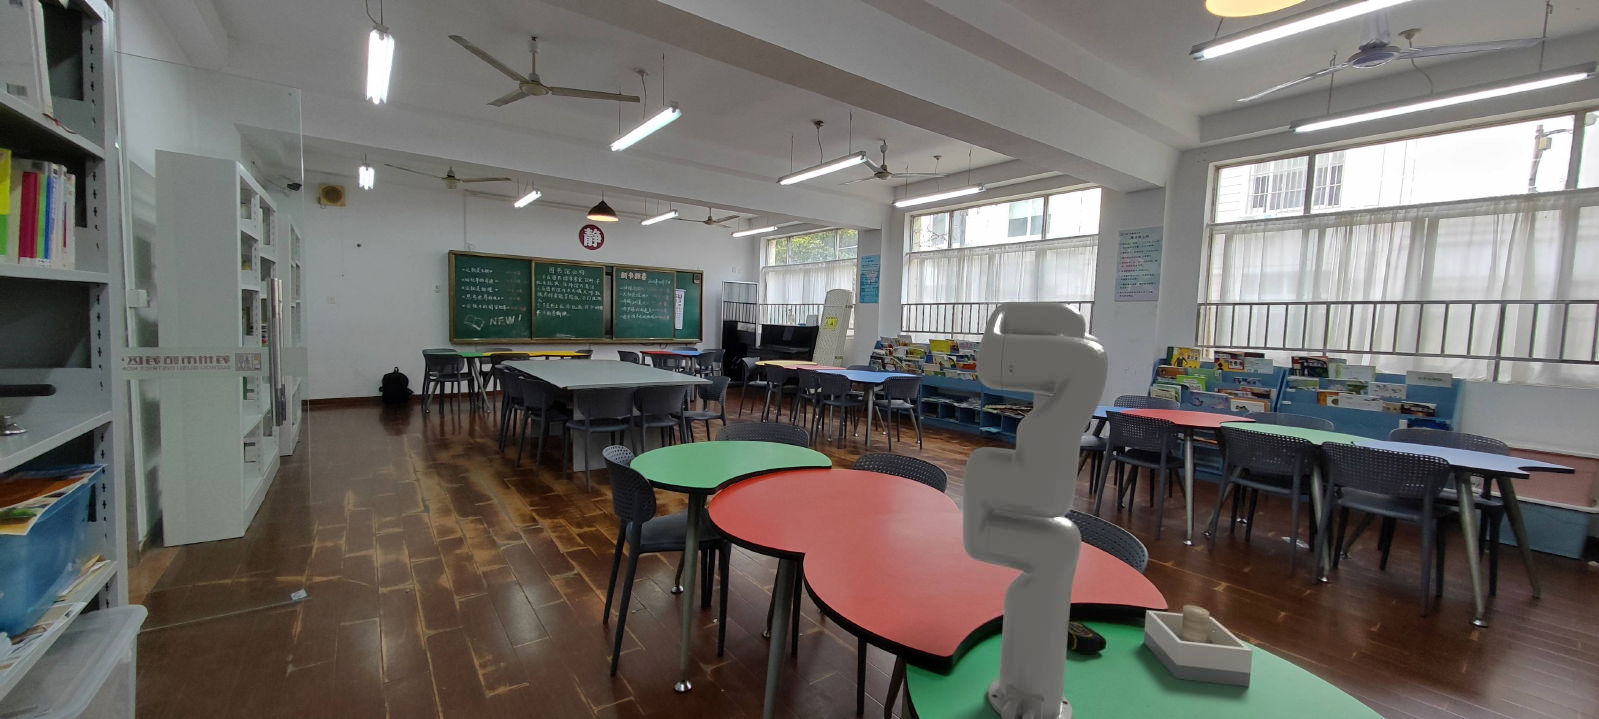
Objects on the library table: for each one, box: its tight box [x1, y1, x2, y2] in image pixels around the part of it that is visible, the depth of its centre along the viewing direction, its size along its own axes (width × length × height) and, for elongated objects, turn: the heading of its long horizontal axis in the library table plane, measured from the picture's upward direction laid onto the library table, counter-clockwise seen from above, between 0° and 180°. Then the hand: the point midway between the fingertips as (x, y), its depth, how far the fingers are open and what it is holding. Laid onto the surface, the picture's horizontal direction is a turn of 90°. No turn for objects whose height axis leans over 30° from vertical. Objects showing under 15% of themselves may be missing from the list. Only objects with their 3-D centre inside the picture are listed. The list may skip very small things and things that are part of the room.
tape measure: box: [1067, 620, 1107, 655], centre depth 110 cm, size 7×7×4 cm
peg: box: [1181, 604, 1210, 644], centre depth 106 cm, size 4×4×10 cm
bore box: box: [1143, 609, 1253, 688], centre depth 106 cm, size 12×12×6 cm
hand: (1046, 482), depth 123 cm, fingers open, 9 cm apart
